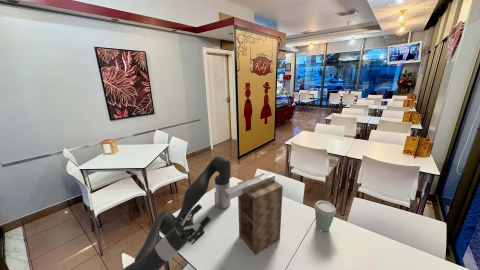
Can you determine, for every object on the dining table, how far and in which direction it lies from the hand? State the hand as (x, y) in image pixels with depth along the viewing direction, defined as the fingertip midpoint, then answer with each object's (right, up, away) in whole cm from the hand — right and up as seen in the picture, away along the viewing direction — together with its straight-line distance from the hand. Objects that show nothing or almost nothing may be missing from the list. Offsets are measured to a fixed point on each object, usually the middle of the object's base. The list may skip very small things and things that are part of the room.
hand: (204, 211), depth 78 cm
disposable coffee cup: (+60, -21, +29) cm, 70 cm away
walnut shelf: (+24, -23, +24) cm, 41 cm away
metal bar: (+19, +6, +11) cm, 23 cm away
